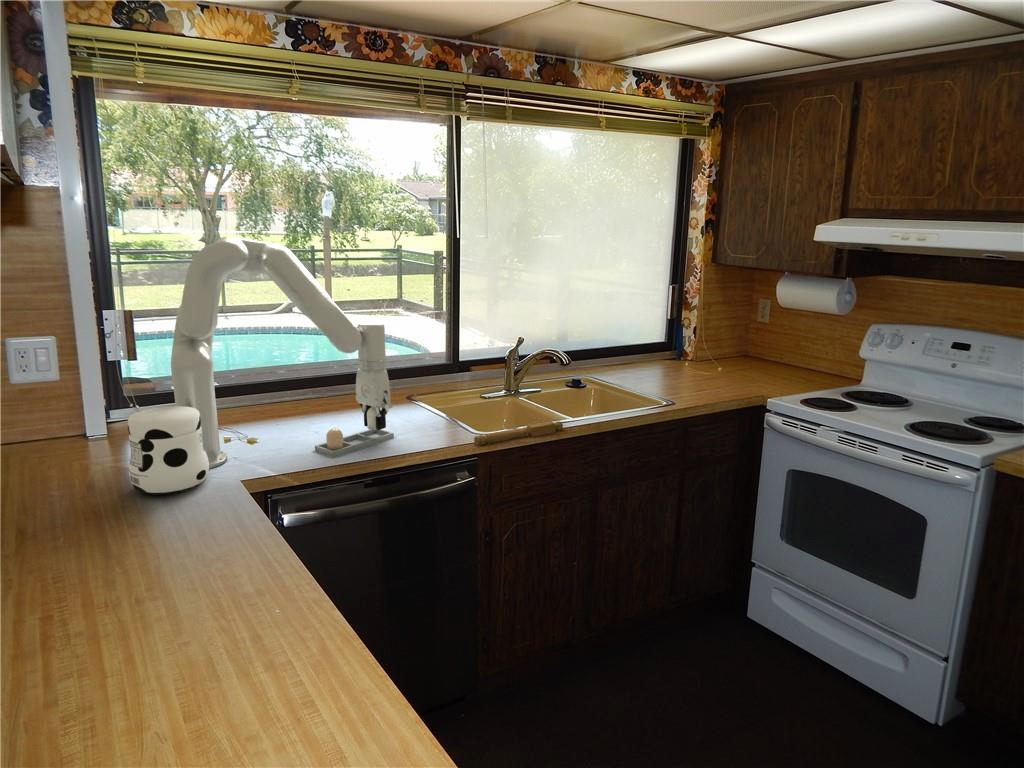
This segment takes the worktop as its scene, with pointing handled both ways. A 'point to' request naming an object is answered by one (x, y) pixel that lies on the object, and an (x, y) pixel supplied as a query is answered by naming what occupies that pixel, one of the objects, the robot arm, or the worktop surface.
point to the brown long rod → (519, 432)
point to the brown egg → (334, 439)
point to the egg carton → (356, 442)
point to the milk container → (167, 450)
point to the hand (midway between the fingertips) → (375, 426)
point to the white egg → (371, 418)
